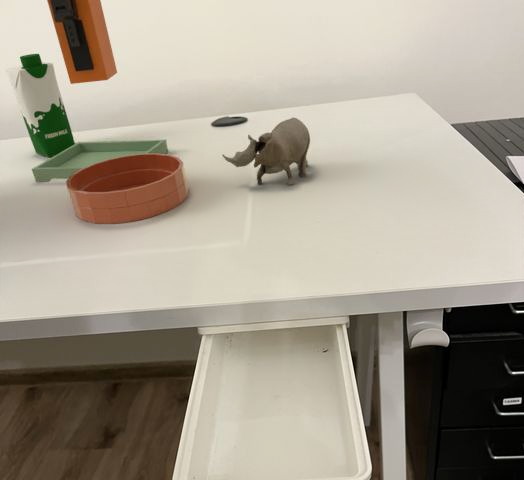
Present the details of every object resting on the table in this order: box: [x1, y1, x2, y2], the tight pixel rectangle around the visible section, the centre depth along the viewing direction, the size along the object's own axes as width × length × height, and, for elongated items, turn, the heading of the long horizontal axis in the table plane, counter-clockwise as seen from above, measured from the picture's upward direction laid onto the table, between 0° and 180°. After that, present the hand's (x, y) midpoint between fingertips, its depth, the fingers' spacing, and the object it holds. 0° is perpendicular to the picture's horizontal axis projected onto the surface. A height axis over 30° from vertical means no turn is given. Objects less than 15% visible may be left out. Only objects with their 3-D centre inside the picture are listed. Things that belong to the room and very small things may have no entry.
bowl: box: [65, 153, 189, 225], centre depth 92 cm, size 19×19×6 cm
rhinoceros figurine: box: [221, 116, 311, 186], centre depth 94 cm, size 8×14×15 cm
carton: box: [46, 0, 118, 85], centre depth 83 cm, size 6×6×15 cm
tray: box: [31, 139, 169, 182], centre depth 113 cm, size 22×18×2 cm
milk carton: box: [5, 53, 76, 159], centre depth 122 cm, size 9×9×20 cm
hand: (91, 65), depth 87 cm, fingers closed on carton, 6 cm apart
